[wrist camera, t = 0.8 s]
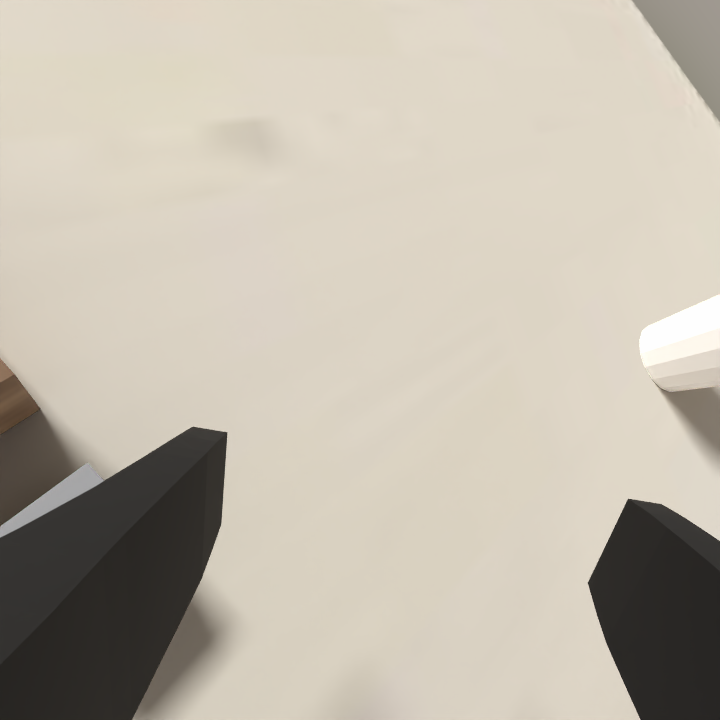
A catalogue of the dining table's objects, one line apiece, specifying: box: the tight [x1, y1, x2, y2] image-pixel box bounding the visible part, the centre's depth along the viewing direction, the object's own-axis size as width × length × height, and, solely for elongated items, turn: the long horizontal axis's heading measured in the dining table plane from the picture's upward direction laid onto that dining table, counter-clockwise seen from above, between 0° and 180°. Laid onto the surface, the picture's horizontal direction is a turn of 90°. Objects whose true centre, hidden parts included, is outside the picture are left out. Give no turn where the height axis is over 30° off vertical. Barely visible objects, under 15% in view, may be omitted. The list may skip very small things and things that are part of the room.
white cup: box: [639, 294, 720, 392], centre depth 35 cm, size 7×7×7 cm
